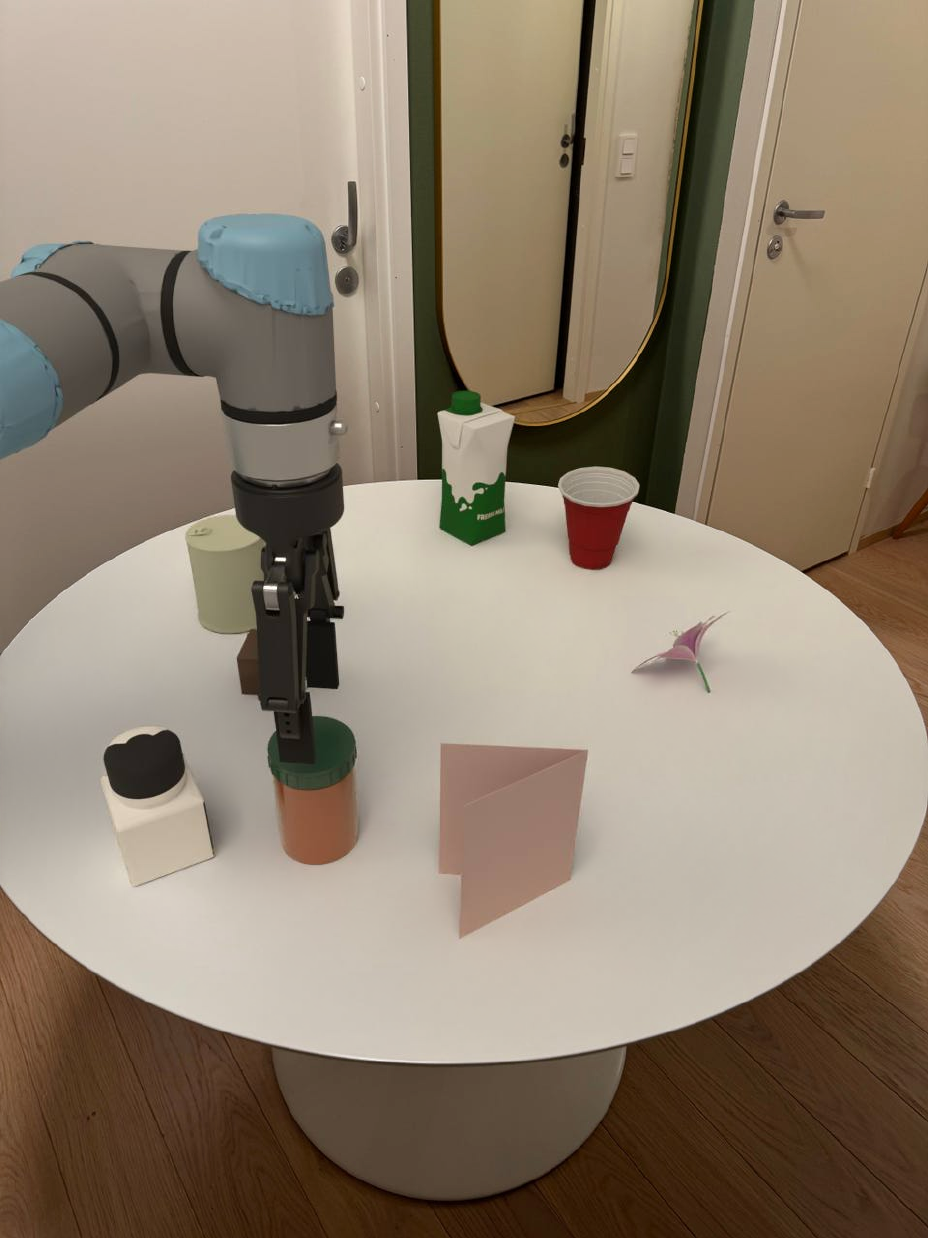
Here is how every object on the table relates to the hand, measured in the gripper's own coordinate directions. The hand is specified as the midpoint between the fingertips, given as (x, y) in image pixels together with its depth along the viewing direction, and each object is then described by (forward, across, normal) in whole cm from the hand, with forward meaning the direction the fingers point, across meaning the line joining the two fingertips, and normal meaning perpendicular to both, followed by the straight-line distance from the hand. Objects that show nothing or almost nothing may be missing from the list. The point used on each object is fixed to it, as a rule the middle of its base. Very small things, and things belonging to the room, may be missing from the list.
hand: (311, 720), depth 72 cm
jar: (+14, 0, 0) cm, 14 cm away
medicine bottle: (+14, -3, +14) cm, 19 cm away
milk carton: (+14, +61, -10) cm, 63 cm away
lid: (+3, 0, 0) cm, 3 cm away
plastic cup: (+14, +54, -27) cm, 62 cm away
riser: (+13, +22, +10) cm, 28 cm away
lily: (+14, +28, -36) cm, 47 cm away
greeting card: (+14, -6, -17) cm, 22 cm away
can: (+14, +35, +18) cm, 42 cm away
